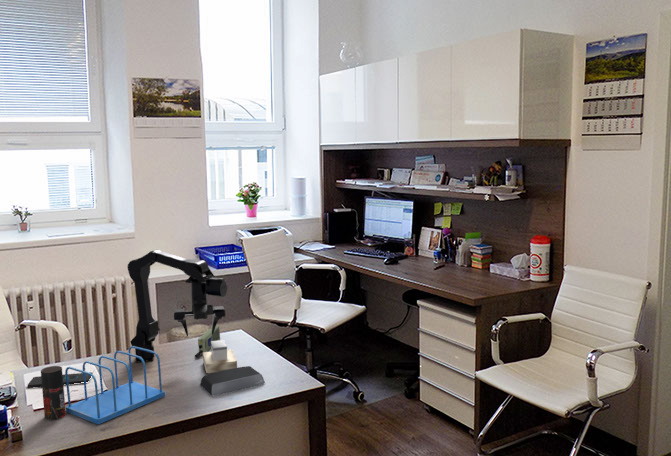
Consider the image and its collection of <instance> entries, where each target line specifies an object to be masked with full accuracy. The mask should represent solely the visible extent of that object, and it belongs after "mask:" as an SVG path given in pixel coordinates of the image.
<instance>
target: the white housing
mask: <svg viewBox="0 0 671 456" xmlns="http://www.w3.org/2000/svg"><path fill="white" fill-rule="evenodd" d="M210 350H211V351H210V352H211V354H212V357H213V361H218V360H227V350H228V346H227V344H226V340H225V339H220V340H218V341H211V348H210Z"/></svg>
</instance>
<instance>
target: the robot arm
mask: <svg viewBox="0 0 671 456" xmlns="http://www.w3.org/2000/svg"><path fill="white" fill-rule="evenodd" d="M155 263H158V264H160V265H164V266H168V267H169V268H174V269H177V270H180V271H182V272H183V274H185V275H187V276H189V277H188V278H187V279H186V280H185V283H188V284H190V298H191V299H190V300H191V301H190V303H191V310H185V308H174V310H173V320H174V321H177V323H180V324H181V325H182V327H183V329H184V332H185V335H186V337H189V330H188V325H187V320H186V317H193V319H194V320H196V321H197V320H206V319H208V316H212V317H211V318H212V321H211V327H212V334H213V333H214V330H215V327H216V325H218V322H219V321H220V320H221V319H222V318H224V317H226V309H225V307H224V306H223V305H219V306H213V304H208V297H209V296H210V297H221V298H222V297H223V298H224V297H225V296H226V295H227V293H228V285H227V282H226V281H225V278H224V277H216V276H215V275H214V273H213V272H212V271H211V269H210V267H209V265H208V262H207V261H205V260H202V259H197V258H196V259H189V258H185V257H181V256H178V255H175V254H171V253H169V252H165V251H163V250H160V249H153V250H152V251H149V252H148V253H146V254H145V255H143V256H141V257H139V258H135V259H132V260H130V261H129V262H128V264H127V272H128V275H129V277H130V278H131V280H132V282H133V283H134V290H135V291H134V292H135V298H136V299H135V300H136V309H137V315H138V320H137V324H136V328H135V336H134V337H133V338H132V339H131V340H129V341H130V345H131V346H135V347H139V348H143V349H147V350H151V351H154V352H155V345H153V342H155V340H156V337H157V336H158V335H159V331H160V326H159V320H158V319H157V320H156V319H154V317H153V315H152V314H153V313H152V307H151V305H152V304H151V300H150V299H151V298H150V297H151V296H150V291H149V282H148V281H149V280H148V279H149V277H150V275H151V274H150V273H151V266H153V265H155ZM134 352H135V354H134V355H137V356H140V357H141V358H142V359H143V360H144V362H150V361H154V358H155V354H154V353H151V352H147V351H143V350H139V349H135V348H134ZM140 362H141V363H142V361H141V360H140V359H139V358H136V357H135V363H140Z"/></svg>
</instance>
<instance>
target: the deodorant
mask: <svg viewBox="0 0 671 456" xmlns="http://www.w3.org/2000/svg"><path fill="white" fill-rule="evenodd" d="M63 375H64V374H63V367H62V366H60V365H53V366H51V365H50V366H47V367H43V368H42V369H41V370H40V376H41V380H42V387H41V388H42V389H41V390H42V400H43V401H42V402H43V403H42V404H43V413H44V414H43V415H44V419H45V421H56V420H60V419H63V418H64V417H66V415H67V414H66V413H67V412H66V401H65V400H66V399H65V389H64V388H65V387H64V386H65V385H63Z"/></svg>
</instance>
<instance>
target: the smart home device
mask: <svg viewBox="0 0 671 456" xmlns="http://www.w3.org/2000/svg"><path fill="white" fill-rule="evenodd" d="M88 372H89V371H88ZM89 373H91V374H93V372H91V371H90V372H89ZM85 377H86V382H88V381H89V379H90V378H91V376H90V375H88V374H85ZM91 379H92V378H91ZM91 379H90V380H91ZM81 382H84V379H83V373H81V372H79V373H78V372H77V373H68V383H69V384H74V383H81ZM89 382H90V381H89ZM64 384H66V377H65V373H64V374H63V386H65V385H64ZM74 385H75V384H74ZM33 387H38V388H42V380H41V375H40V376H33V377H32V379H31V380H30V381H29V382H28V383H27V389H34V388H33Z"/></svg>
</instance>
